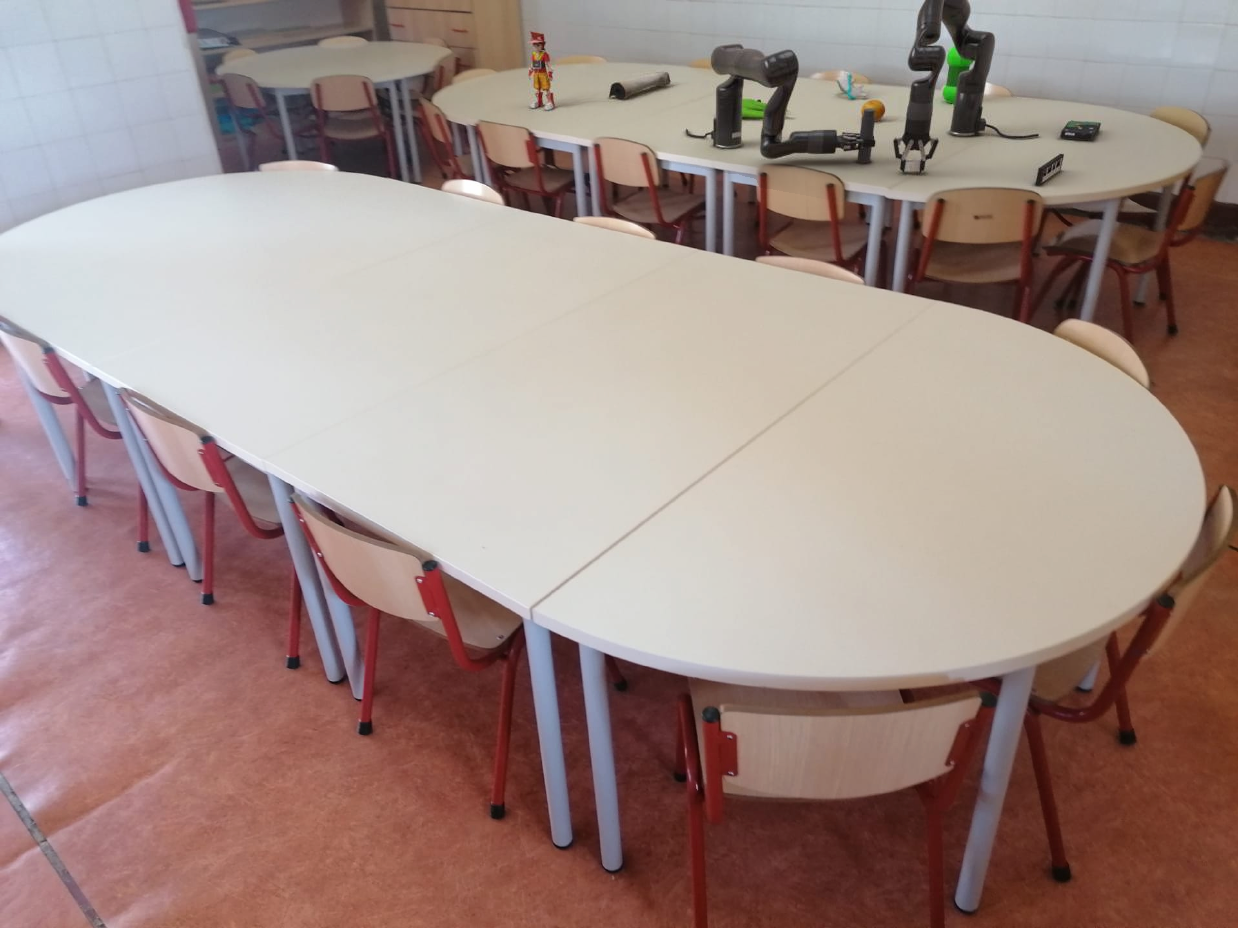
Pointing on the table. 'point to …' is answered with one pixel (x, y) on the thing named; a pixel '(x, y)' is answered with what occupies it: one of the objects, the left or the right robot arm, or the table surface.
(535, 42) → the toy
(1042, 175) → the midi keyboard
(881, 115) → the fruit
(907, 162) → the lid
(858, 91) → the anatomical model
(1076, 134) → the disk drive
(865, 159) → the dark cylinder
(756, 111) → the toy
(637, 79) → the rolled mat
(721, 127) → the left robot arm
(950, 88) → the green dumbbell
